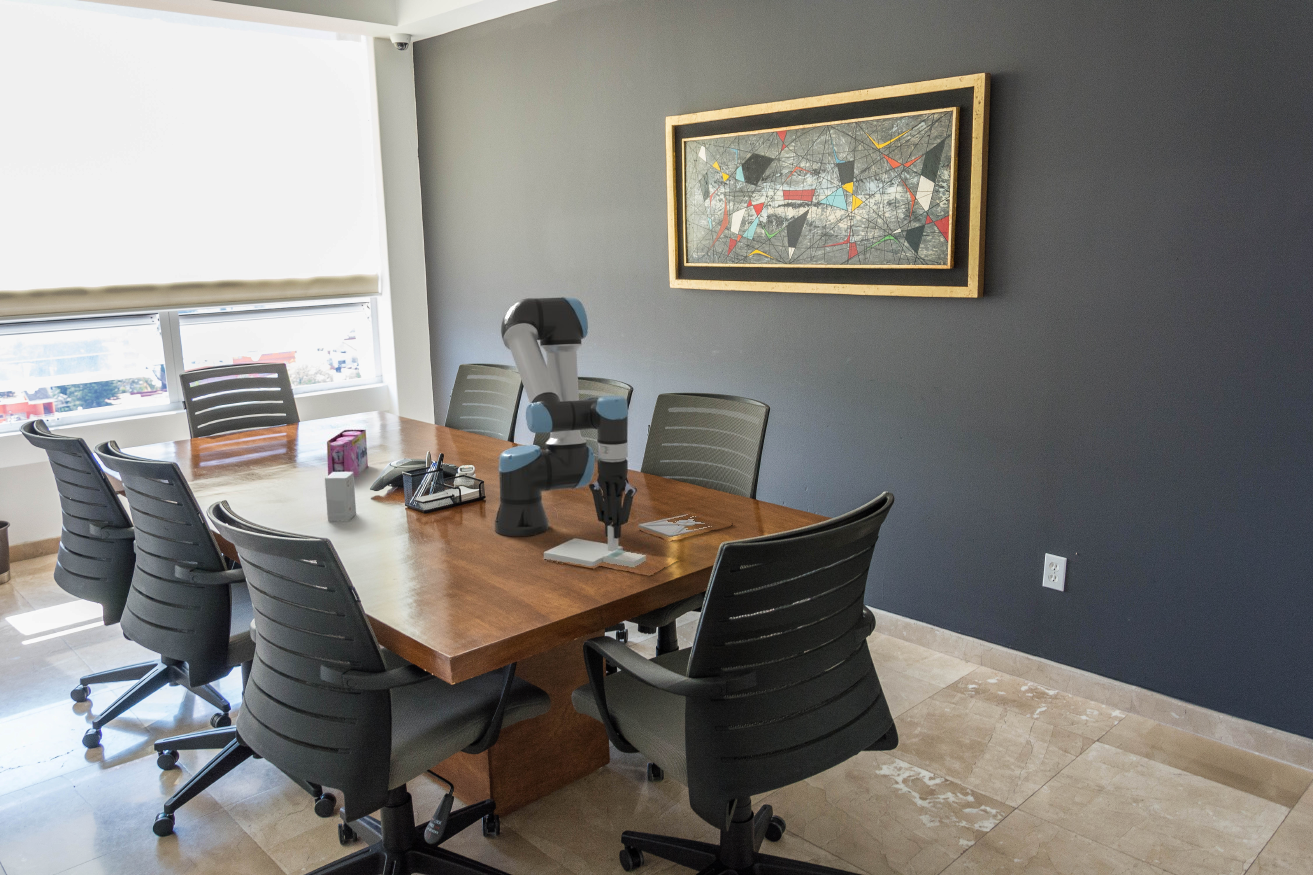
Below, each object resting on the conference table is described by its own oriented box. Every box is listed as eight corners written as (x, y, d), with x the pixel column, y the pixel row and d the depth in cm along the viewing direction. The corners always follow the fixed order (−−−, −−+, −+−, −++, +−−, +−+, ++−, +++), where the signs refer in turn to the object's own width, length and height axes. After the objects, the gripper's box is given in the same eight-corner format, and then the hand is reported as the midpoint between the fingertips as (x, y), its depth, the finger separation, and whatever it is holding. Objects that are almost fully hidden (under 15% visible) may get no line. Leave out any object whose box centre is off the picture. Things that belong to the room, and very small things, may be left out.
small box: (335, 513, 288) (332, 471, 286) (356, 513, 289) (354, 471, 286) (327, 521, 280) (324, 477, 278) (349, 521, 281) (346, 477, 278)
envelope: (732, 528, 278) (700, 517, 288) (733, 520, 277) (700, 510, 287) (669, 542, 262) (638, 531, 273) (670, 534, 262) (638, 523, 272)
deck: (574, 545, 259) (574, 538, 258) (622, 554, 252) (622, 546, 251) (543, 559, 247) (543, 552, 246) (593, 569, 240) (593, 561, 239)
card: (615, 557, 248) (615, 549, 248) (646, 562, 244) (646, 554, 243) (603, 563, 243) (603, 555, 242) (633, 569, 238) (633, 561, 238)
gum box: (350, 481, 328) (347, 442, 325) (326, 481, 328) (323, 442, 325) (368, 465, 351) (366, 429, 349) (346, 466, 351) (344, 429, 348)
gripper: (582, 458, 240) (583, 549, 244) (627, 464, 233) (627, 557, 238) (598, 453, 246) (599, 541, 251) (642, 458, 240) (642, 549, 244)
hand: (613, 549), depth 244 cm, fingers closed
